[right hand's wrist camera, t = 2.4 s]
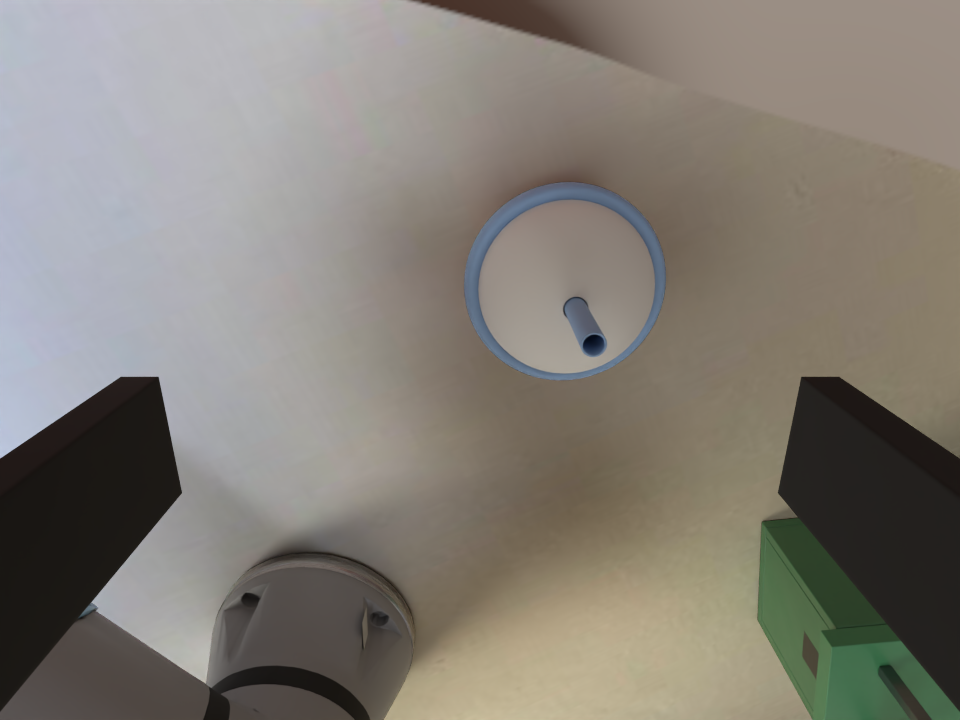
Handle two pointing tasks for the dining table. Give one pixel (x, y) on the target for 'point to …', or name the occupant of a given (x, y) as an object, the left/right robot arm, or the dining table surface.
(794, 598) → the chest
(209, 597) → the dining table surface
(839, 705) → the lid
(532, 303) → the cup with straw
